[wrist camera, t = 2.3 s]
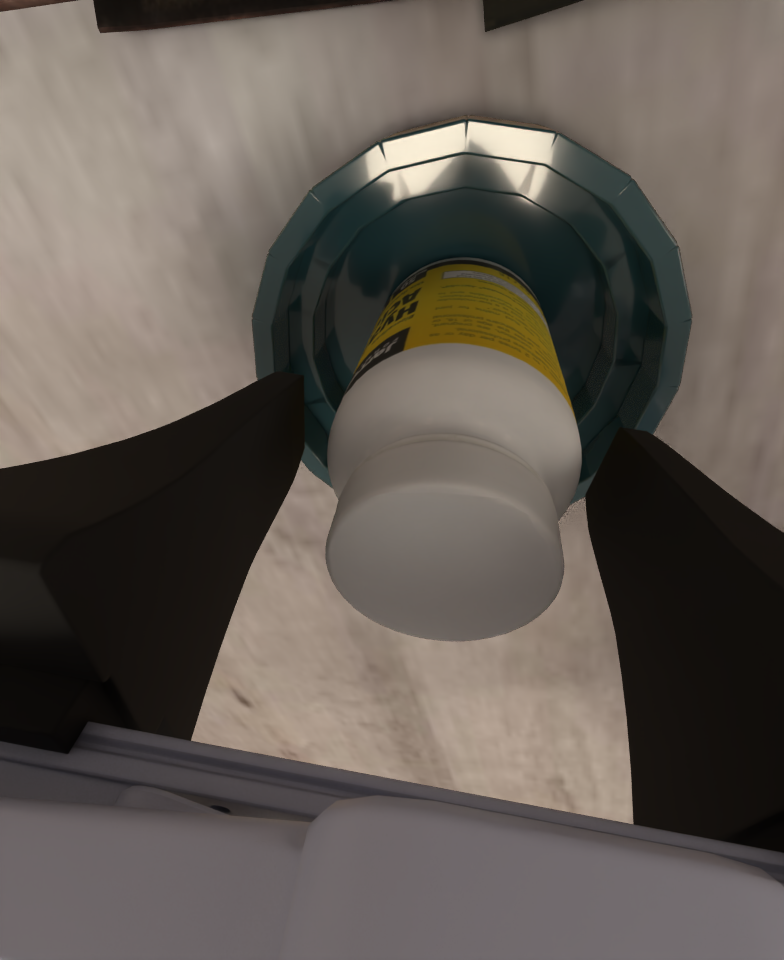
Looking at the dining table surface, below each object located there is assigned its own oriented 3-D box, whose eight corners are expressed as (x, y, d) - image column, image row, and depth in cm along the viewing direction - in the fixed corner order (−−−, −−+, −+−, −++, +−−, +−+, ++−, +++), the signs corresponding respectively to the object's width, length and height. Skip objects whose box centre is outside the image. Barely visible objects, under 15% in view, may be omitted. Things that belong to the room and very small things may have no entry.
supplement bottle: (409, 222, 13) (328, 382, 6) (580, 294, 14) (707, 524, 6) (356, 381, 17) (261, 613, 9) (495, 434, 17) (512, 691, 10)
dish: (735, 152, 12) (806, 167, 9) (570, 497, 19) (585, 555, 17) (279, 86, 12) (230, 83, 10) (292, 449, 19) (265, 500, 17)
